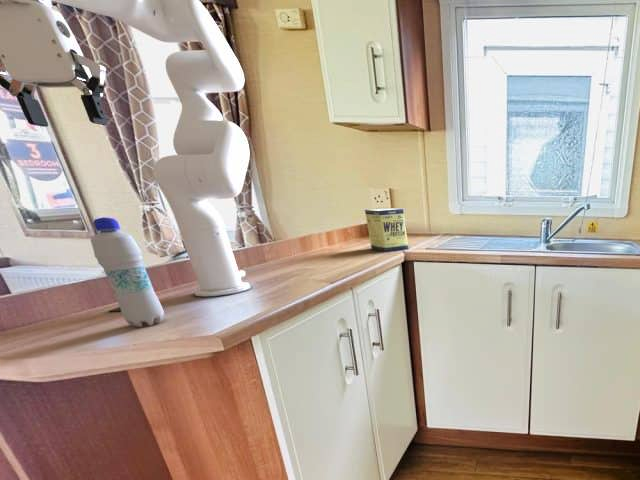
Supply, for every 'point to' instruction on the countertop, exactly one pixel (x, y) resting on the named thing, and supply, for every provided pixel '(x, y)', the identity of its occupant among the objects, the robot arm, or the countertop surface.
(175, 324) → the countertop surface
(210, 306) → the countertop surface
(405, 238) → the protein box
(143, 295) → the bottle
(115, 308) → the bottle marker
